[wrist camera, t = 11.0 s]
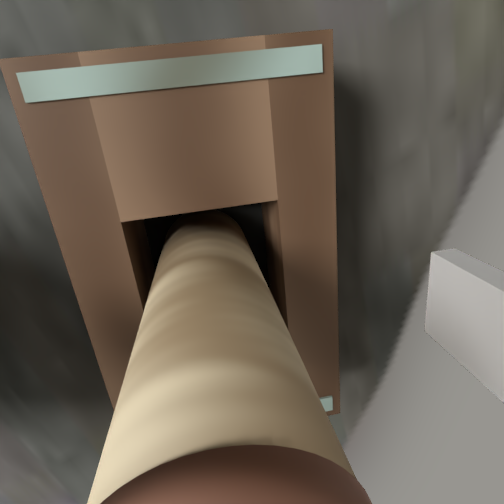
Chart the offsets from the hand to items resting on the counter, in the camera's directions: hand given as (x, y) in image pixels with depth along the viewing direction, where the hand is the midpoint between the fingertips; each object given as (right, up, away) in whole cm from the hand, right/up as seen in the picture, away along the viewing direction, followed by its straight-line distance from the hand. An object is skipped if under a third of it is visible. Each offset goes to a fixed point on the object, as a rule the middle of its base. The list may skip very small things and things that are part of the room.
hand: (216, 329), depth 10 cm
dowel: (-1, +2, +7) cm, 8 cm away
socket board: (-1, +2, +7) cm, 8 cm away
